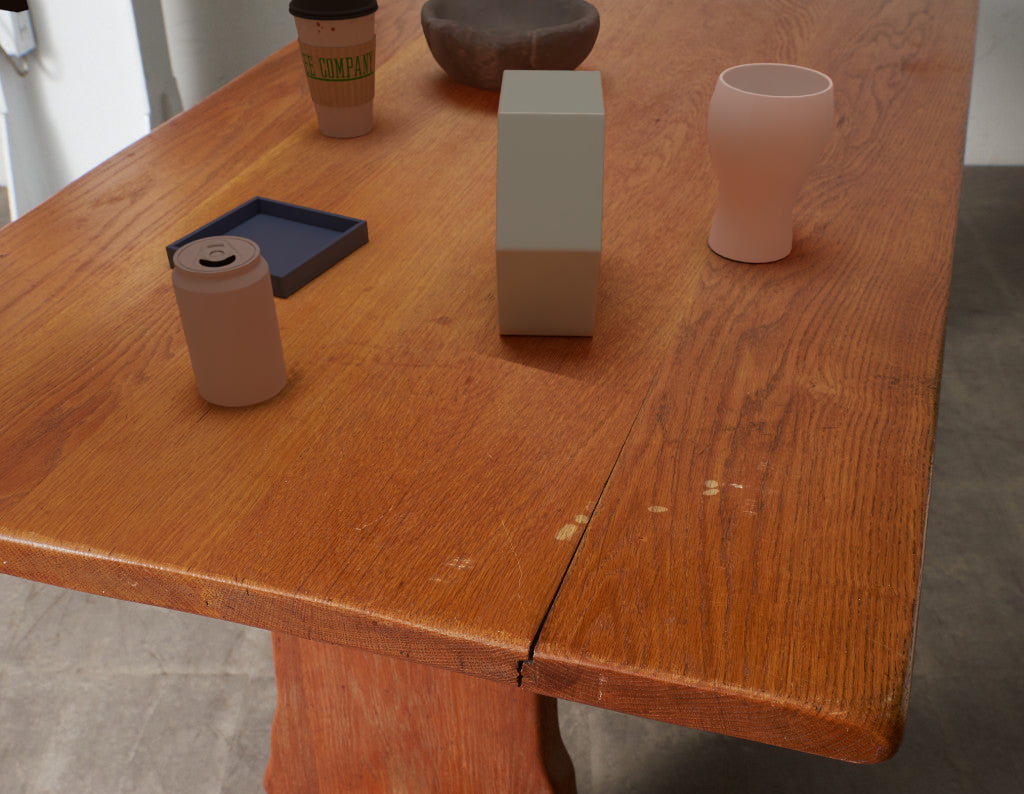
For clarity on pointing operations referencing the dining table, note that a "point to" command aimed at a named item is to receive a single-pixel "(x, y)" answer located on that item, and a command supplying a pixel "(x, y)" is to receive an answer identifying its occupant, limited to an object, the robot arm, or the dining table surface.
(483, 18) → the bowl
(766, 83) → the cup
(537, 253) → the grey beige box
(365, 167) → the dining table surface
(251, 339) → the beverage can
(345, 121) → the coffee cup
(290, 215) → the tray
